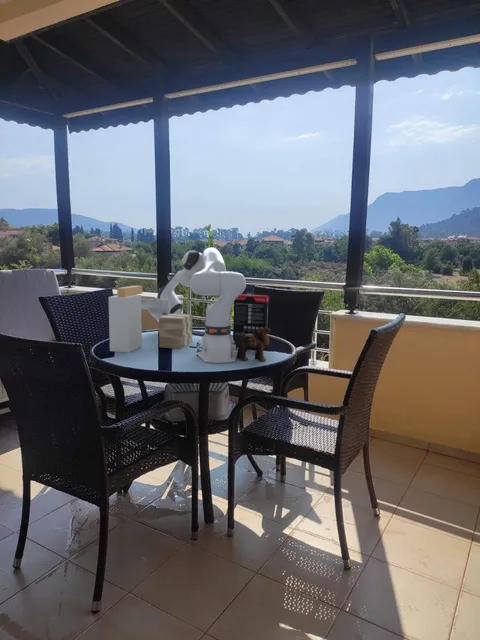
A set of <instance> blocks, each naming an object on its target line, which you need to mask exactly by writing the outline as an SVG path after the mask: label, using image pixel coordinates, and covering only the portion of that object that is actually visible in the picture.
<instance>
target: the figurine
mask: <svg viewBox="0 0 480 640" xmlns="http://www.w3.org/2000/svg"><path fill="white" fill-rule="evenodd" d="M270 333H271V329H270V328H269V327H268V328H259V329H258V330H257V335H258V336H259V337H260V339H261V340H260V339H259V338H258V337H257V336H256V334H243V336H242V337H241V339H240V343H239V347H237V350H236V352H237V357H236V360H240V361H244V362H245V361H249V359H248V357H247V352H248V351H250V350H251V351H255V354H254V360H257V361H258V362H264V361H266V360H267V358H266V357H265V355H264V350H263V349H264V348H265V349H266V348H268V346H269V345H270V339H269V336H268V334H270Z"/></svg>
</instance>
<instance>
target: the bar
mask: <svg viewBox="0 0 480 640" xmlns="http://www.w3.org/2000/svg"><path fill="white" fill-rule="evenodd" d="M116 290H117V291H116V292H117V297H127V296H132V295H141V294H143V285H129V286H128V285H127V286H123V287H117V288H116Z"/></svg>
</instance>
